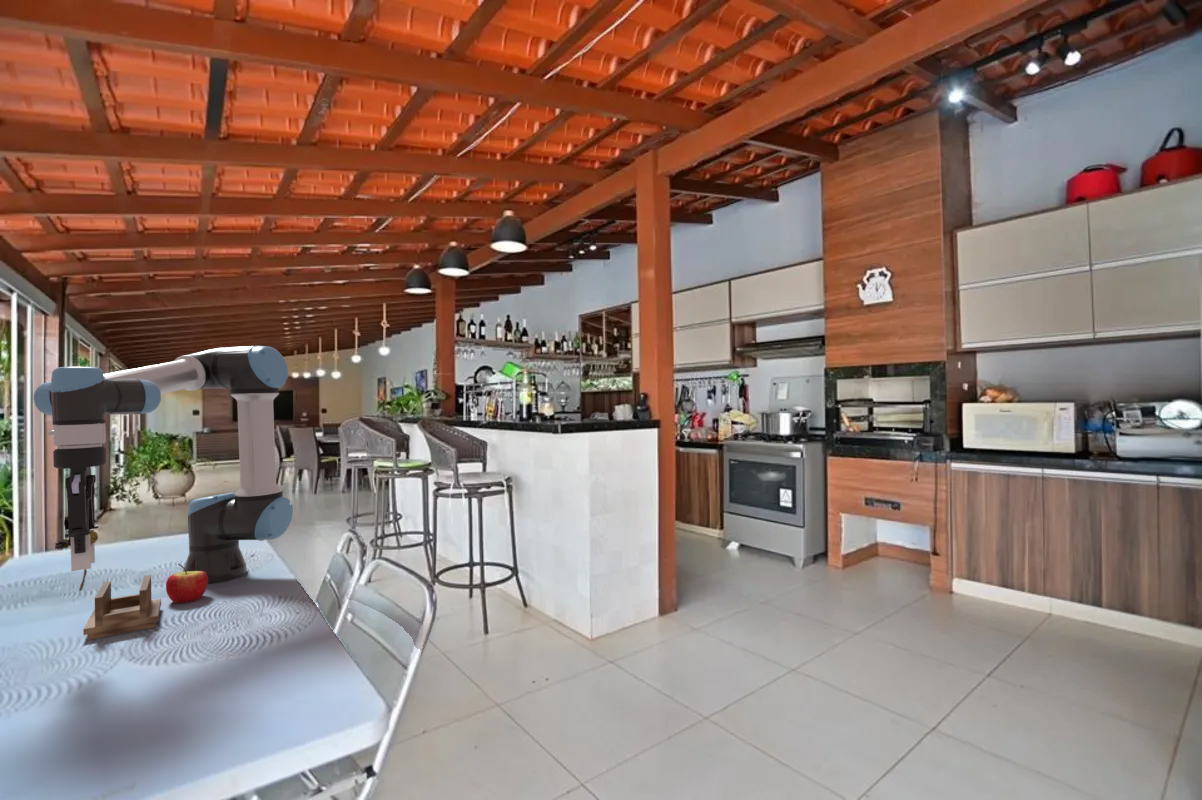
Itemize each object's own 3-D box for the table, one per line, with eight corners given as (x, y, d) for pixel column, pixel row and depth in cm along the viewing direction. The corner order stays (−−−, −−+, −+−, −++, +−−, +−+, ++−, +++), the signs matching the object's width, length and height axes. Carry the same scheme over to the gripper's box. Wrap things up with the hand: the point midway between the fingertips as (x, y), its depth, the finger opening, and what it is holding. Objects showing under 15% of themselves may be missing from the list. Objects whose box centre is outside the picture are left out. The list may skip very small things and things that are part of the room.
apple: (162, 603, 140) (162, 563, 140) (203, 594, 146) (203, 555, 147) (169, 610, 135) (169, 568, 135) (212, 601, 141) (211, 561, 141)
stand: (161, 611, 134) (160, 573, 134) (157, 629, 123) (157, 588, 123) (93, 623, 127) (93, 583, 128) (83, 644, 116) (83, 600, 116)
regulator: (105, 586, 111) (101, 510, 112) (89, 592, 107) (85, 512, 108) (65, 591, 111) (61, 514, 112) (47, 596, 107) (43, 517, 108)
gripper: (62, 445, 115) (65, 560, 115) (43, 450, 101) (47, 581, 101) (111, 442, 119) (114, 553, 119) (99, 447, 105) (103, 573, 105)
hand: (83, 566), depth 110 cm, fingers closed on regulator, 4 cm apart
